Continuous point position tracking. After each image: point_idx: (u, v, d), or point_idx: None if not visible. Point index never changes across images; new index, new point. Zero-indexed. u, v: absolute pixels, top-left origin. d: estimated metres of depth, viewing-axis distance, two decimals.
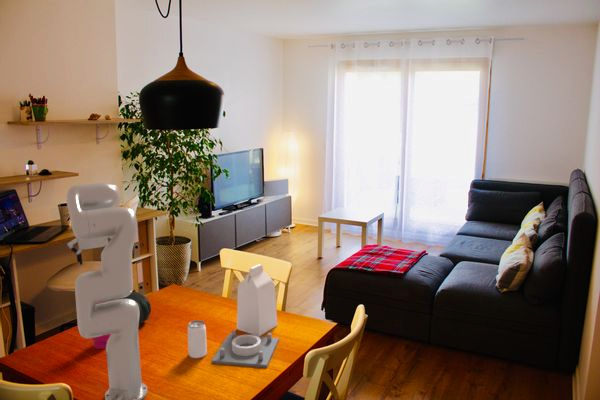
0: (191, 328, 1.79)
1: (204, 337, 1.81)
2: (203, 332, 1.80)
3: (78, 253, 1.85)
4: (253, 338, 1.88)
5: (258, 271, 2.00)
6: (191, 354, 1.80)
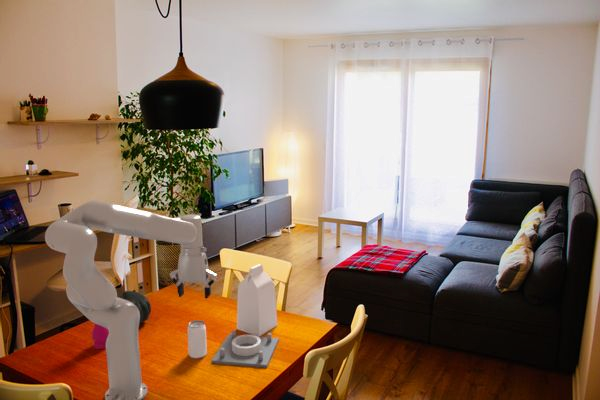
0: (191, 328, 1.79)
1: (204, 337, 1.81)
2: (203, 332, 1.80)
3: None
4: (253, 338, 1.88)
5: (258, 271, 2.00)
6: (191, 354, 1.80)
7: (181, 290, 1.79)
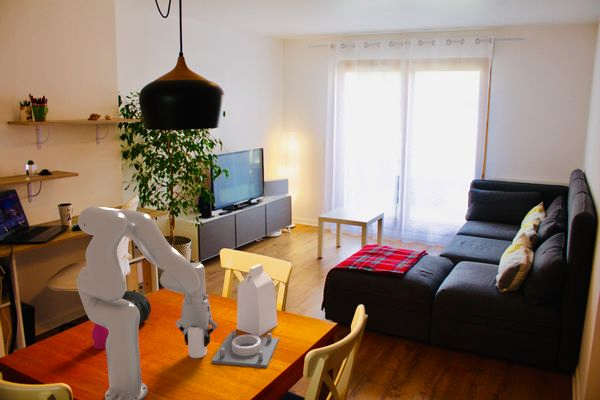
0: (191, 328, 1.79)
1: None
2: (203, 332, 1.80)
3: None
4: (253, 338, 1.88)
5: (258, 271, 2.00)
6: (191, 354, 1.80)
7: None
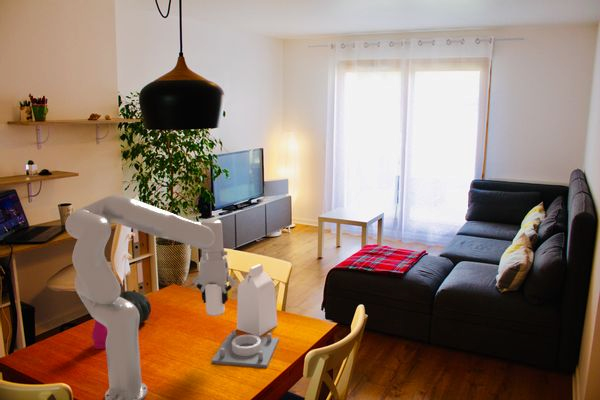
0: (209, 285, 1.76)
1: None
2: (221, 289, 1.78)
3: None
4: (253, 338, 1.88)
5: (258, 271, 2.00)
6: (209, 312, 1.78)
7: (205, 296, 1.80)
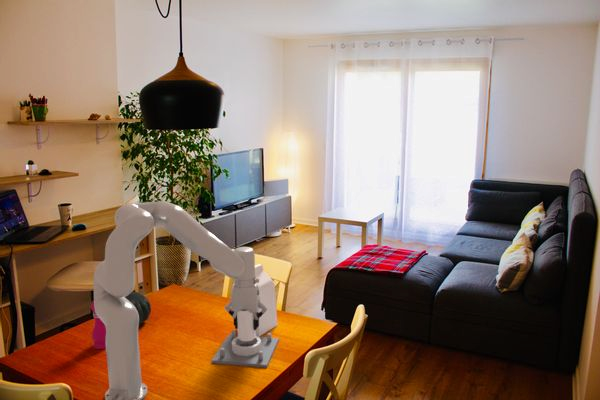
0: (241, 311, 1.80)
1: None
2: None
3: None
4: None
5: (258, 271, 2.00)
6: (241, 337, 1.82)
7: None
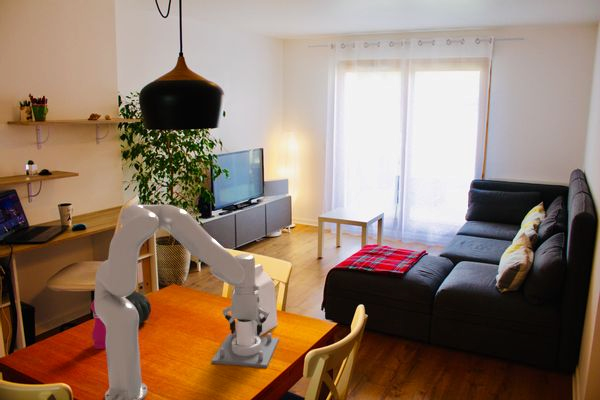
0: (240, 323, 1.80)
1: (253, 331, 1.82)
2: (252, 326, 1.82)
3: None
4: None
5: (258, 271, 2.00)
6: None
7: (233, 327, 1.84)
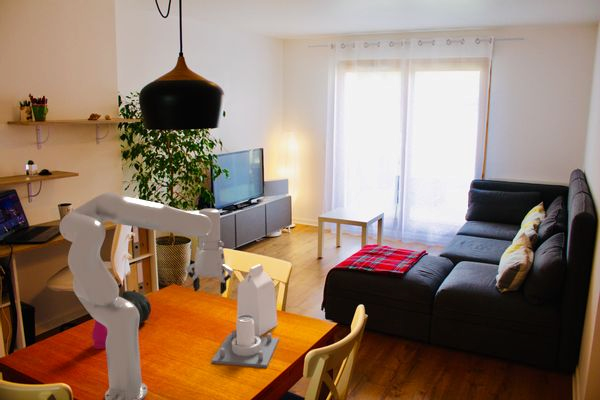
0: (240, 323, 1.80)
1: (253, 331, 1.82)
2: (252, 326, 1.82)
3: None
4: None
5: (258, 271, 2.00)
6: None
7: (197, 284, 1.78)
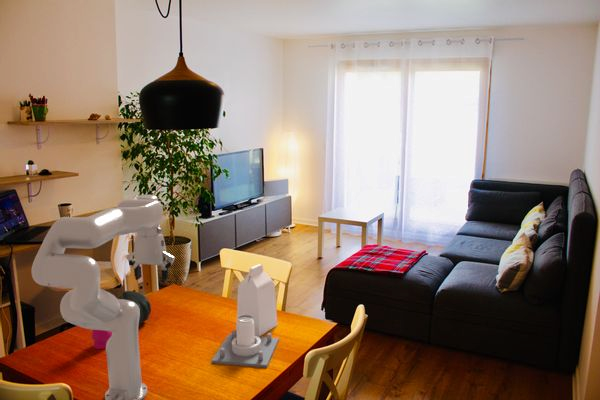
0: (240, 323, 1.80)
1: (253, 331, 1.82)
2: (252, 326, 1.82)
3: None
4: None
5: (258, 271, 2.00)
6: None
7: (138, 273, 1.73)
